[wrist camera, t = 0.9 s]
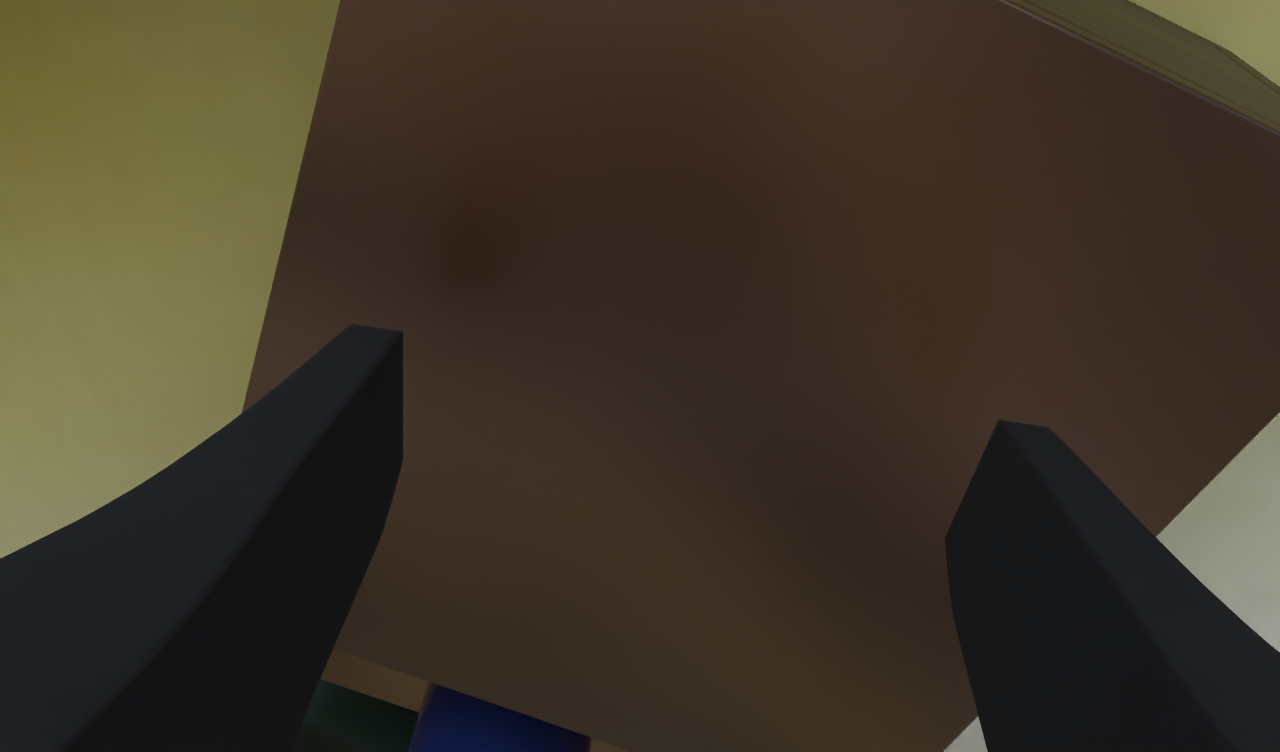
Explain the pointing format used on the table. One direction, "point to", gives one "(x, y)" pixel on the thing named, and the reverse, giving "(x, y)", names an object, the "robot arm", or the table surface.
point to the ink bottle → (484, 727)
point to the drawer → (368, 709)
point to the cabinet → (764, 330)
